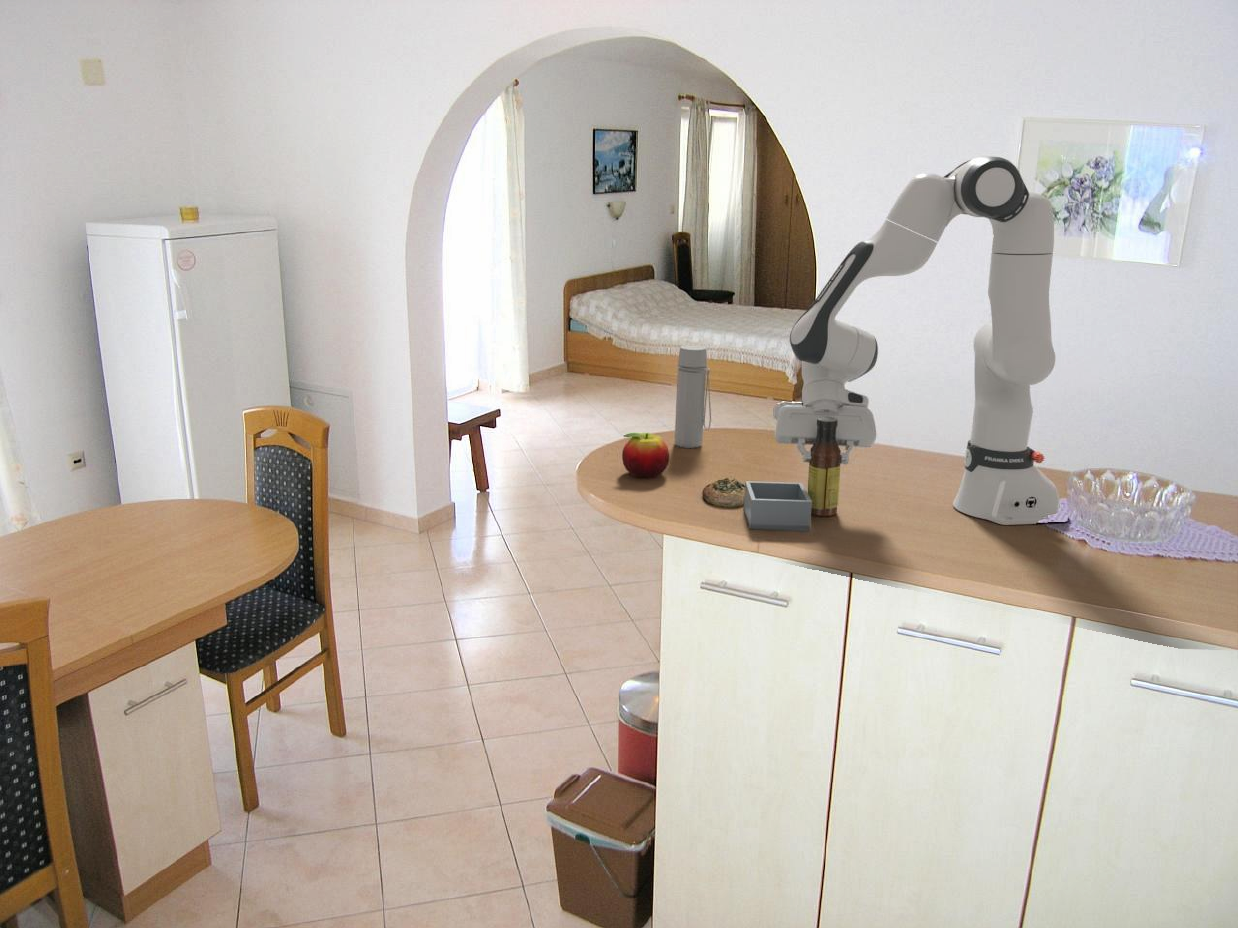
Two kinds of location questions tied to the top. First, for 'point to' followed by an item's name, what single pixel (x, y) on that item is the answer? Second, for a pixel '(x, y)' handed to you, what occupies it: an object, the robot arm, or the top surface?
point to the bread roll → (725, 493)
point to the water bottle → (691, 396)
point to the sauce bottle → (824, 469)
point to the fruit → (645, 455)
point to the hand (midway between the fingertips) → (825, 462)
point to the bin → (777, 506)
